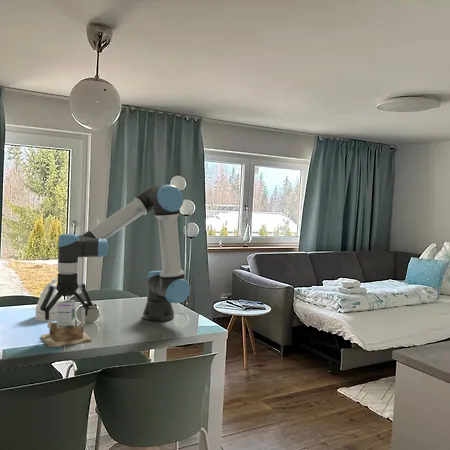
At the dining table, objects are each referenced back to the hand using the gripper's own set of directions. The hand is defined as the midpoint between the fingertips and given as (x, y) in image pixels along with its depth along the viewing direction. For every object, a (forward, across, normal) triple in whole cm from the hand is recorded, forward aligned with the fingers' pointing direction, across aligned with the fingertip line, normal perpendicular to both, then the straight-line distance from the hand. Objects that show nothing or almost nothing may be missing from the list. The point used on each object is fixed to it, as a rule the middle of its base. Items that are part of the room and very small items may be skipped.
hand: (66, 325), depth 174 cm
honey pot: (+6, -2, -36) cm, 37 cm away
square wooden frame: (+6, 0, 0) cm, 6 cm away
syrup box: (+5, 0, 0) cm, 5 cm away
